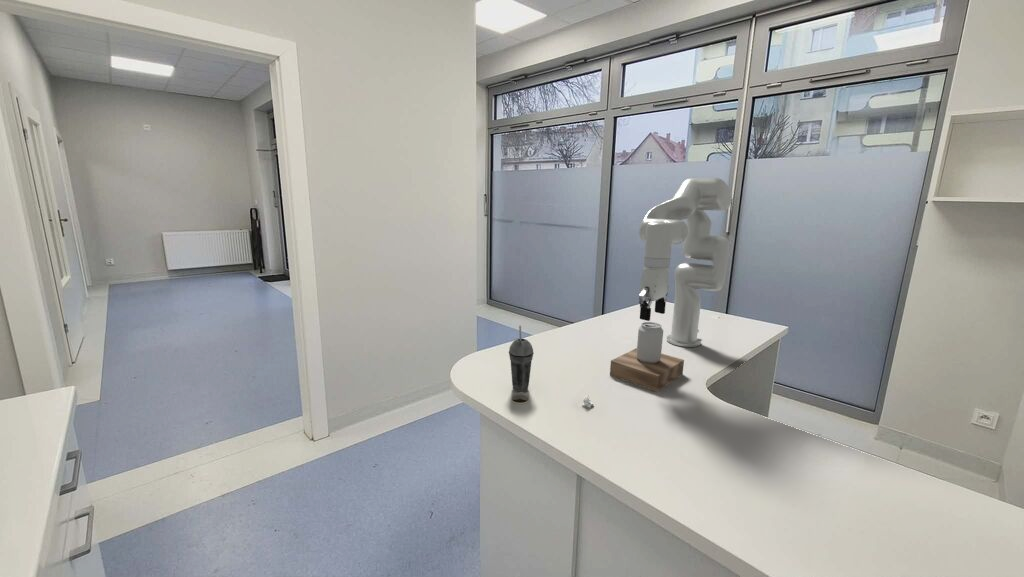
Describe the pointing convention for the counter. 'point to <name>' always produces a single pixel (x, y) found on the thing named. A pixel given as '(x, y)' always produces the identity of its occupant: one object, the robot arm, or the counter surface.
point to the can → (649, 342)
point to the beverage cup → (520, 363)
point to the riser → (646, 370)
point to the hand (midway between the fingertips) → (652, 316)
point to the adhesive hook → (587, 402)
